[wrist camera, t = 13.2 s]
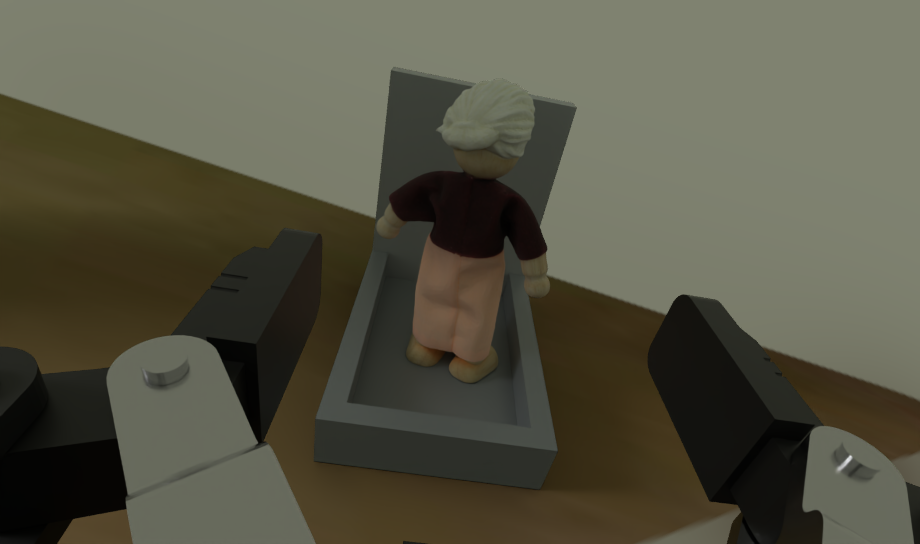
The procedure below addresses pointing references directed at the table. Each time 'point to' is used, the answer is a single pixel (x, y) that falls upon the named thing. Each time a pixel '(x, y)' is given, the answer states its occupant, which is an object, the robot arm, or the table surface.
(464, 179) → the grandmother figurine
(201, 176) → the table surface
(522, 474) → the case
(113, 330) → the table surface
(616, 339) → the table surface
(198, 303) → the robot arm
